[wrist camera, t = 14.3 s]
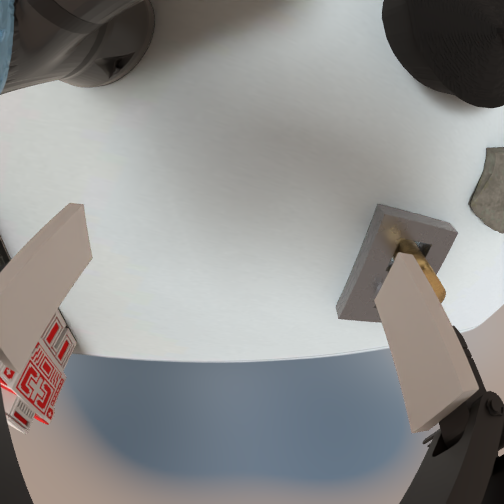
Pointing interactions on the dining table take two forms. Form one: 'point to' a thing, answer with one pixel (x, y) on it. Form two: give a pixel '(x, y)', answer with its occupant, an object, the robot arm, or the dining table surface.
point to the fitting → (421, 265)
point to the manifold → (390, 257)
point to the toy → (38, 377)
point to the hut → (451, 45)
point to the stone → (491, 191)
